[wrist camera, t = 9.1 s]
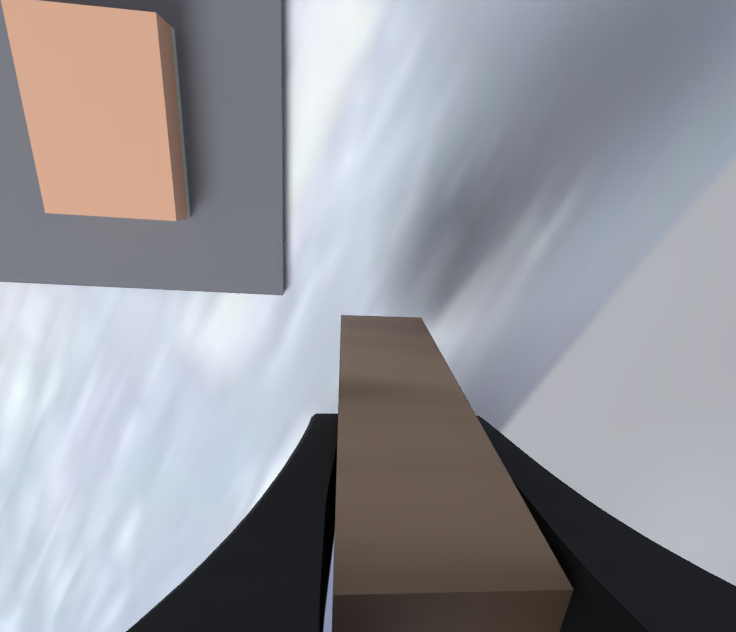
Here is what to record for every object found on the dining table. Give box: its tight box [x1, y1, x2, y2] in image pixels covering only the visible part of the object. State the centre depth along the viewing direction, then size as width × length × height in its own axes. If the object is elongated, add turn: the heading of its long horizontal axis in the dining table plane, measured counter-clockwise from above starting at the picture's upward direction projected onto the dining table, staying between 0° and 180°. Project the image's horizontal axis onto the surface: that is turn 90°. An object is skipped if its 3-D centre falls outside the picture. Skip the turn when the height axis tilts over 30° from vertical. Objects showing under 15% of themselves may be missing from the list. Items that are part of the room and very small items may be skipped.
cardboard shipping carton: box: [332, 315, 574, 632], centre depth 10 cm, size 5×3×10 cm, turn 177°
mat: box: [0, 0, 284, 295], centre depth 15 cm, size 14×13×1 cm
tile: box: [1, 0, 191, 221], centre depth 15 cm, size 2×5×7 cm
